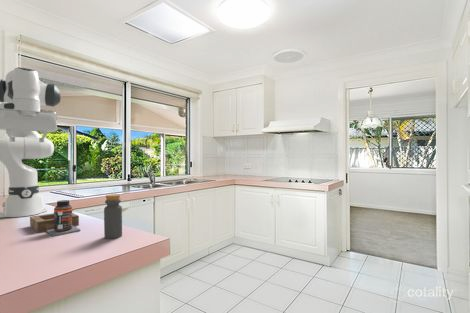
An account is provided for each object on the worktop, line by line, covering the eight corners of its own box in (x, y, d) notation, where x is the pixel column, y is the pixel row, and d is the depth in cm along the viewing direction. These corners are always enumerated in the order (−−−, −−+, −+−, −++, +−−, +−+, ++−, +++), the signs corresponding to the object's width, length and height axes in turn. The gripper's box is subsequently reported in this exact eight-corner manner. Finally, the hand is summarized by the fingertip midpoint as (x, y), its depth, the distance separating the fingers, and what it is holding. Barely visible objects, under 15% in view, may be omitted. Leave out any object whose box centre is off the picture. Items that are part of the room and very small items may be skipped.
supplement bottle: (63, 232, 98) (62, 202, 98) (50, 231, 100) (49, 201, 99) (76, 228, 104) (75, 199, 104) (63, 227, 105) (63, 199, 105)
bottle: (109, 234, 98) (109, 193, 98) (125, 234, 98) (124, 193, 97) (101, 239, 92) (100, 196, 92) (117, 239, 92) (117, 196, 92)
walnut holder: (30, 226, 110) (30, 216, 110) (68, 219, 120) (68, 211, 120) (38, 232, 100) (37, 222, 100) (78, 225, 111) (78, 215, 111)
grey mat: (46, 231, 102) (46, 230, 102) (72, 226, 108) (72, 225, 108) (52, 236, 95) (52, 234, 95) (80, 231, 102) (80, 229, 102)
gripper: (54, 111, 116) (55, 142, 117) (-8, 105, 101) (-7, 141, 101) (59, 110, 112) (59, 142, 112) (-6, 103, 97) (-5, 140, 97)
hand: (27, 142), depth 107 cm, fingers open, 8 cm apart
